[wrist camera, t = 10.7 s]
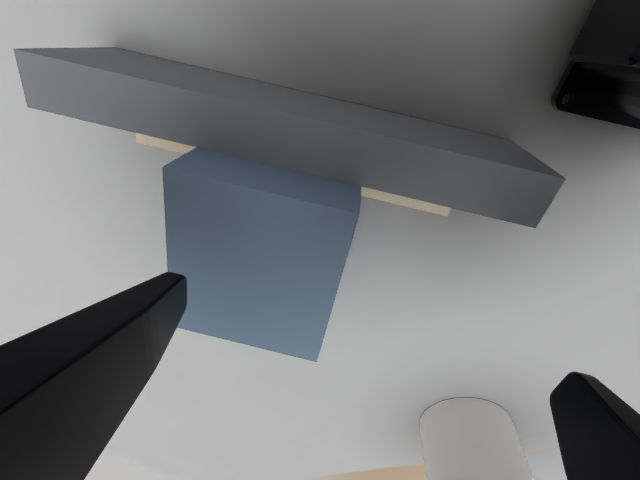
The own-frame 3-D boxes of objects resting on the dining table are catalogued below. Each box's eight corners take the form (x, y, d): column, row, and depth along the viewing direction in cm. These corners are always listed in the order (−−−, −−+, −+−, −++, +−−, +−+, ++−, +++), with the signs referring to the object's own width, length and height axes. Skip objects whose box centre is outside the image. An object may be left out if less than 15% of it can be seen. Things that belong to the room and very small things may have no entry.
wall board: (510, 140, 16) (565, 178, 12) (476, 209, 18) (512, 266, 14) (114, 47, 17) (13, 48, 12) (122, 124, 19) (38, 152, 14)
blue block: (364, 147, 18) (359, 214, 11) (331, 271, 22) (312, 375, 15) (243, 119, 18) (162, 167, 11) (234, 247, 22) (171, 340, 15)
